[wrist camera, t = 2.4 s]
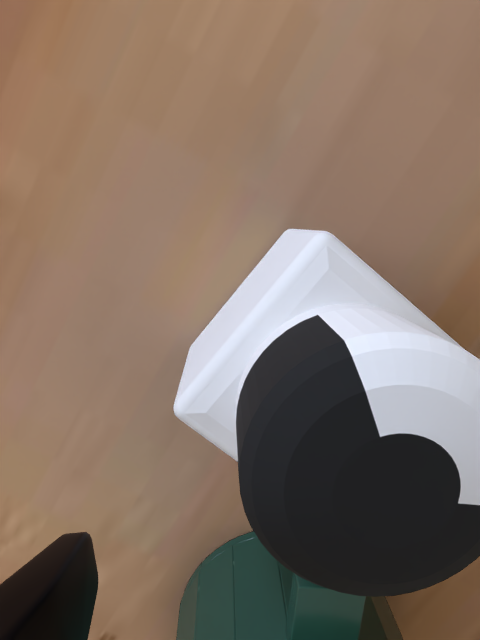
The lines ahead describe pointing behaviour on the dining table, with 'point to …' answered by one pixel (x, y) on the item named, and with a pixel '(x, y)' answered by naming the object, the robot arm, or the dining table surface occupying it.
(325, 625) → the pot
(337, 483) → the medicine bottle
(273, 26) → the dining table surface
